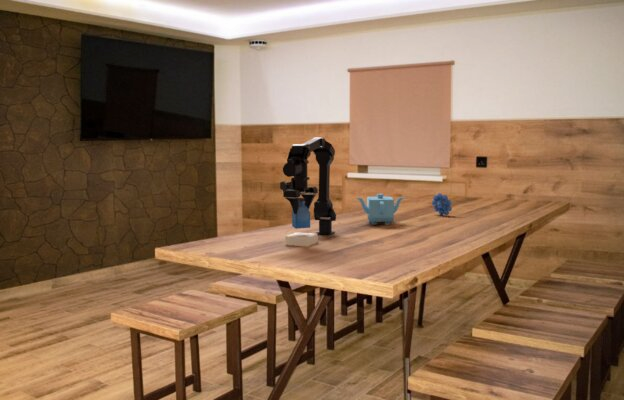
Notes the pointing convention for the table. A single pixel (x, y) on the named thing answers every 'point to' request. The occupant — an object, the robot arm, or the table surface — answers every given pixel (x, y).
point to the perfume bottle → (301, 216)
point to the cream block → (301, 239)
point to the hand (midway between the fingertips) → (301, 212)
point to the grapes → (441, 204)
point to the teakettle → (380, 208)
